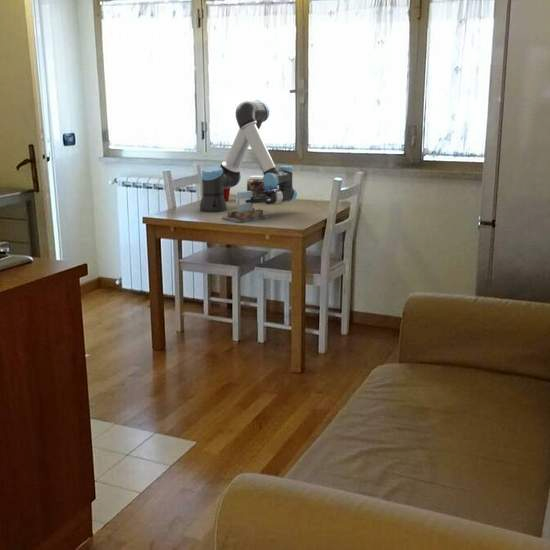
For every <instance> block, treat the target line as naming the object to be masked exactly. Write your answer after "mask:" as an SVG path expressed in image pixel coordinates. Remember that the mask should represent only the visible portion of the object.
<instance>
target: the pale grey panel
mask: <svg viewBox="0 0 550 550" xmlns="http://www.w3.org/2000/svg"><path fill="white" fill-rule="evenodd" d="M251 197H253V194H252V191H247V190H245V191H238V192H237V198H238V204H237V210H238V213H240V212H246V211H252V210H253V208H254V207H253V206H254V203H249V204H242V205H240V199H246V198H250V199H251Z"/></svg>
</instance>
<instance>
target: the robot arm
mask: <svg viewBox="0 0 550 550" xmlns="http://www.w3.org/2000/svg"><path fill="white" fill-rule="evenodd" d="M269 116H270V109H269V106H268V105H267V103H266V102H265V101H263V100H258V99H255V100H244V101H242V102H240V103H239V104H238V105H237V107H236V108H235V119H236V123H237V126H238V127H239V129H238V131H237V134H236V136H235V138H234V141H233V143H232V145H231V147H230V150H229V152H228V154H227V157H226V159H225V160H222V161H221V164H220V166H211V167H210V166H209V167H205V168H203V169H202V171H201V189H202V190H201V191H202V195H201V196H202V197H201V200H200V205H199V211H201V212H207V213H216V212H224V211H228V209H227V208H228V205H227V203H226V202H227V201H225V199H224V197H223V189H226V188H230V189H231V188H234V187H235V186H237V185H238V184H239V183H240V181H241V177H242V175H241V171H242V169H241V167H240V166H241V164H242V162H243V160H244V157H245V156H246V154H247V151H248V149H249V147H250V149H251V150H252V152H253V155H254V157H255V159H256V161H257V163H258V166H259V167H260V170H261V172H262V174H263V183H264V184H265V185H266V186H267V187H275V186H278V188H279V189H273V190H266V191H265V192H264V193H263V194H259V195H256V194H255V195H253V197H251V199H250V198H246V199H240V205H242V204H249V203H253V204H262V203H263V204H264V203H265V204H266V205H273V204H276V205H277V204H278V203H286V202H287V203H289V202H292V201H295V200H296V198H297V197H298V192H297V190H296V188H295V187H293V179H294V178H293V176H294V175H293V167H292V166H291V165H280V166H278V168H277V167H276V165H275V162H274V161H273V158H272V155H271V154H270V152H269V149H268V147H267V145H266V143H265V141H264V139H263V136H262V135H261V133H260V132H261V131H260V128H261V127H262V124H263V123H264V122H266V121H267V120H268V119H269ZM235 204H236V205H238V197H237V198H236V199H235Z"/></svg>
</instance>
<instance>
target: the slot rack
mask: <svg viewBox="0 0 550 550" xmlns="http://www.w3.org/2000/svg"><path fill="white" fill-rule="evenodd" d="M226 211H227V212H226V216H222V217H221V219H222V220H223V219H225V220H224V221H228V220H229V222H232V221H234V222H233V223H237V222H239V223H238V224H241V223H240V222H242V223H247V222H246V221H248V222H253V221H252V220H254V221H258V220H259V219H260V220H264V219H265V218H266V219H269V215H267V214H264V210H263V209H261V208H260V209H256V208H254V207H253V210H252V211H246V212H240V213H238V209H235V210H229V211H228V210H226Z"/></svg>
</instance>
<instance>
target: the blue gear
mask: <svg viewBox="0 0 550 550" xmlns="http://www.w3.org/2000/svg"><path fill="white" fill-rule="evenodd" d="M273 189H279V185H278V186H275V187H267V186H265V190H273ZM264 192H265V191H264Z"/></svg>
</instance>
